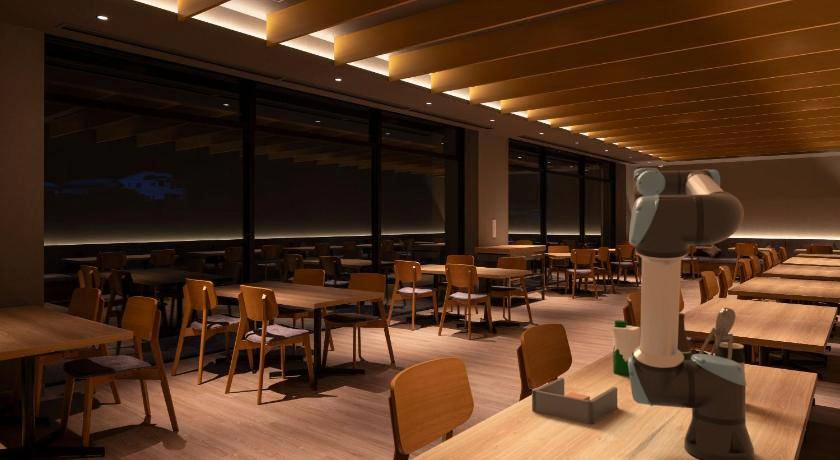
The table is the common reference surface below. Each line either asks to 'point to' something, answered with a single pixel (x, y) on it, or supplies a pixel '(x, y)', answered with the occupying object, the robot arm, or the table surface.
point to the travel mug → (736, 352)
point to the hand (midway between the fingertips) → (647, 293)
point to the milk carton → (624, 346)
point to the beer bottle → (683, 339)
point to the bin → (572, 403)
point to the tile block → (578, 396)
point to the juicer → (722, 331)
